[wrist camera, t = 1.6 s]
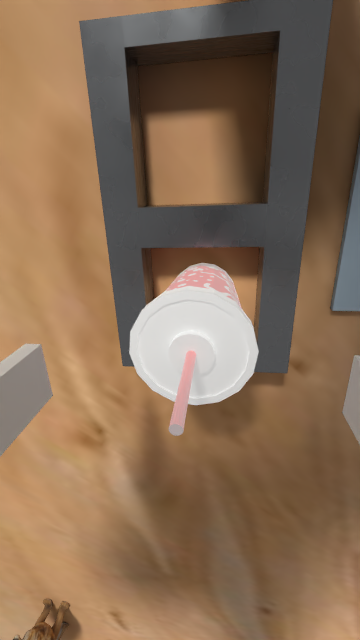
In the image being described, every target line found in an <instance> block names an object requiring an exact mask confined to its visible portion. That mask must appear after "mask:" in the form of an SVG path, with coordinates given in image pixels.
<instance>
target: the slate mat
mask: <svg viewBox="0 0 360 640" xmlns="http://www.w3.org/2000/svg"><path fill="white" fill-rule="evenodd" d="M330 308H331V310H332V311H360V137H359V143H358V149H357V155H356V161H355V166H354V172H353V178H352V184H351V190H350V196H349V202H348V207H347V213H346V219H345V225H344V231H343V237H342V242H341V248H340V254H339V260H338V266H337V272H336V278H335V283H334V289H333V295H332V301H331V307H330Z"/></svg>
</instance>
